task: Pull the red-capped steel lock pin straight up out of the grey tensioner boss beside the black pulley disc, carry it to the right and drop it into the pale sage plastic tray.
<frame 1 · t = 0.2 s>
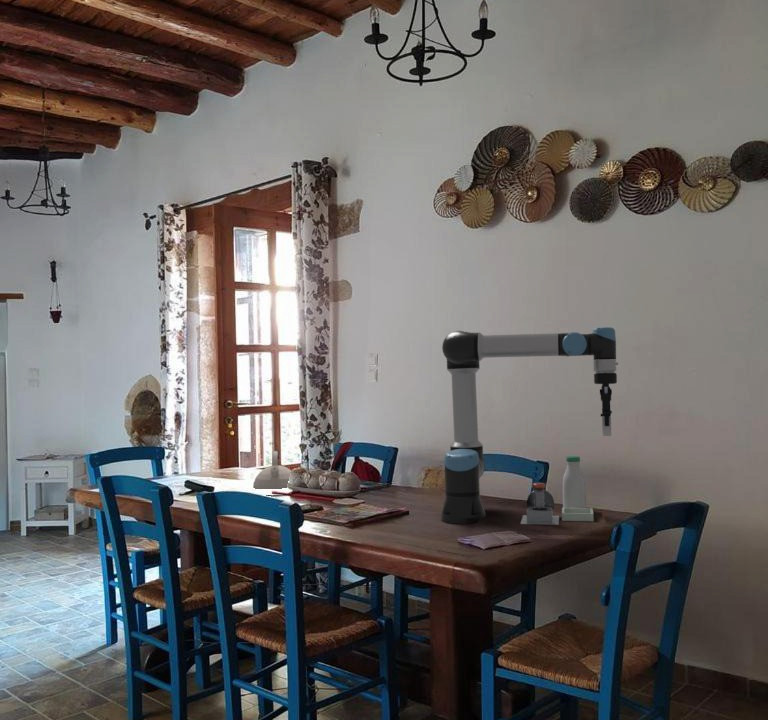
hand: (606, 434, 275), 28 cm above the table, fingers open, 13 cm apart
tensioner: (540, 523, 263), on the table
tray: (577, 521, 265), on the table
lock pin: (539, 521, 261), point 1 cm above the table, touching tensioner
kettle: (276, 493, 346), on the table
milk bottle: (574, 514, 278), on the table
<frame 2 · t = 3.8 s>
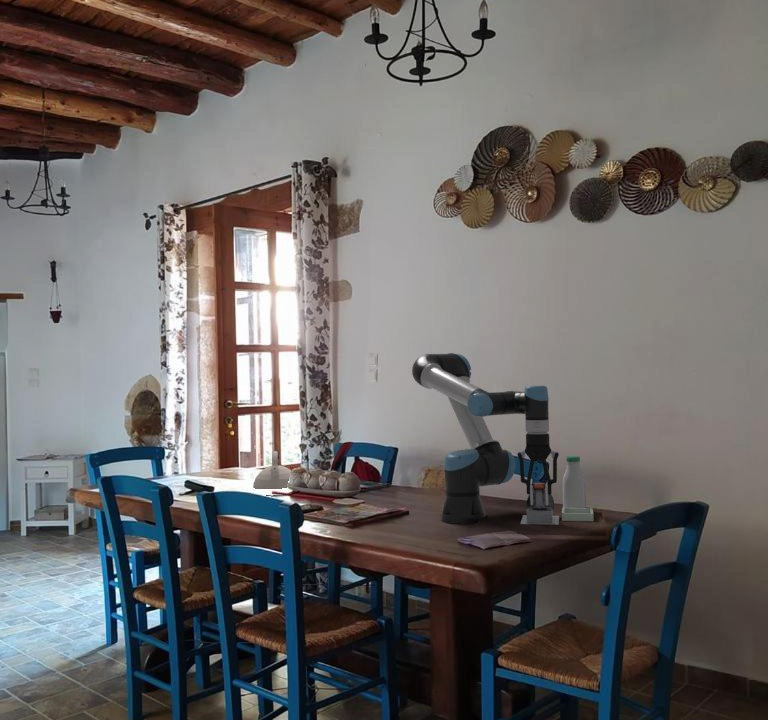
hand: (539, 504, 261), 7 cm above the table, fingers closed on lock pin, 4 cm apart
lock pin: (539, 521, 261), point 1 cm above the table, touching gripper, tensioner
everything else where it was.
when the fingers open (7 cm above the table, at t = 8.8 s): lock pin drops 1 cm, resting on tray.
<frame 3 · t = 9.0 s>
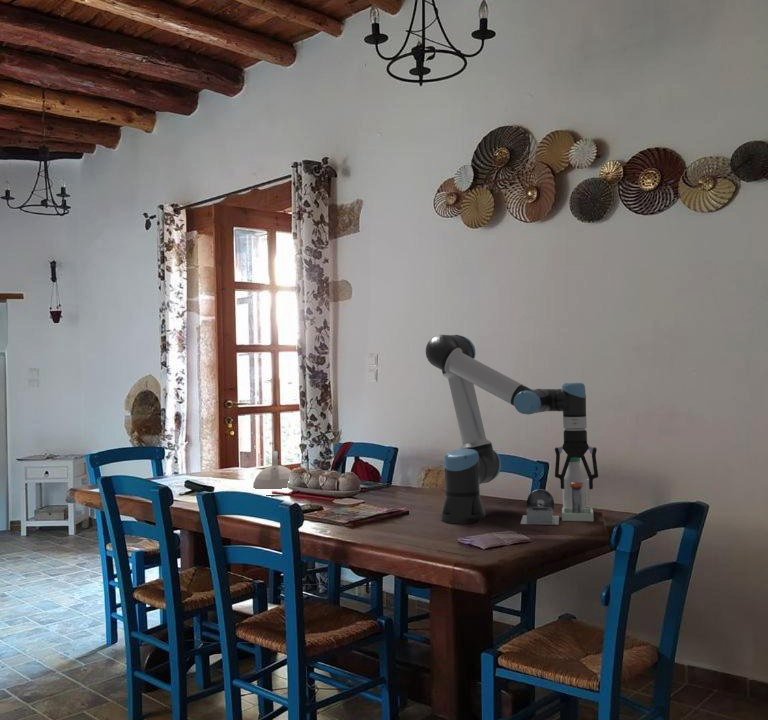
hand: (577, 498, 265), 7 cm above the table, fingers open, 7 cm apart
lock pin: (577, 519, 264), point 1 cm above the table, touching tray
everything else where it was.
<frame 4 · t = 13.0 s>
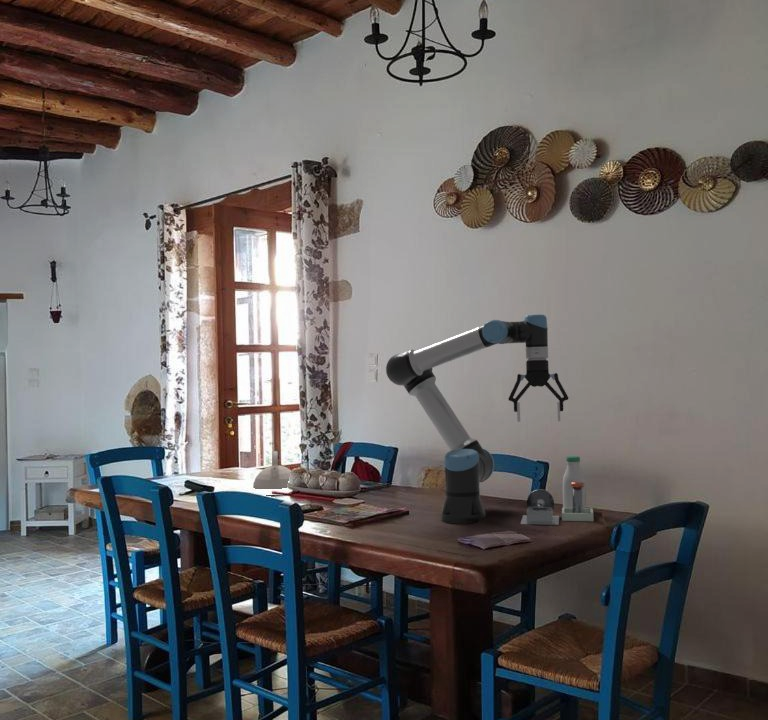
hand: (538, 421, 275), 33 cm above the table, fingers open, 13 cm apart
nothing on the table moved.
at the end: lock pin inside the target area on the tray (0.1 cm from its centre), point 0.6 cm above the tray's base; the gripper is holding nothing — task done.
